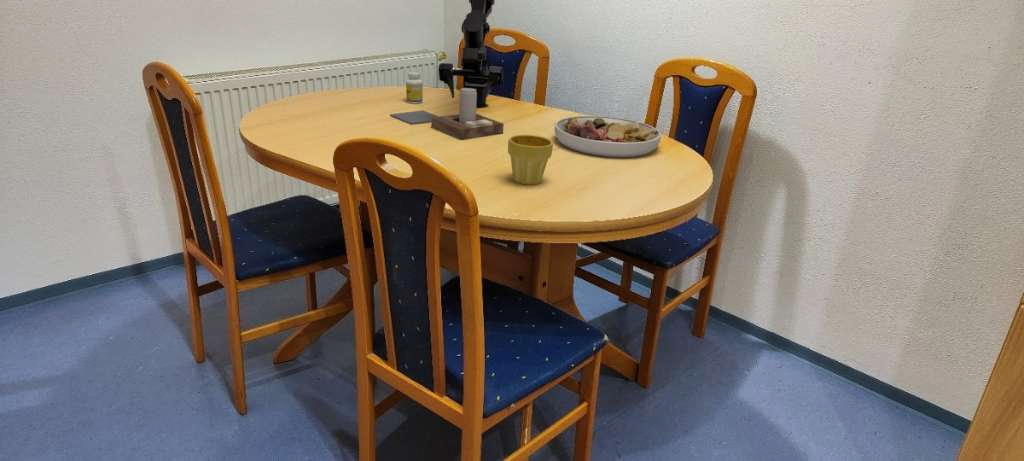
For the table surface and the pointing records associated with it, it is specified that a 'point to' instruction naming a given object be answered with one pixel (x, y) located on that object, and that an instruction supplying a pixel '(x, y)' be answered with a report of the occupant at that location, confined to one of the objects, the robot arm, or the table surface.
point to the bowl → (607, 136)
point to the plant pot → (529, 157)
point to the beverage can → (467, 105)
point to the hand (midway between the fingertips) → (468, 98)
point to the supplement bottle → (414, 88)
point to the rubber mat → (414, 117)
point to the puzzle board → (467, 126)
